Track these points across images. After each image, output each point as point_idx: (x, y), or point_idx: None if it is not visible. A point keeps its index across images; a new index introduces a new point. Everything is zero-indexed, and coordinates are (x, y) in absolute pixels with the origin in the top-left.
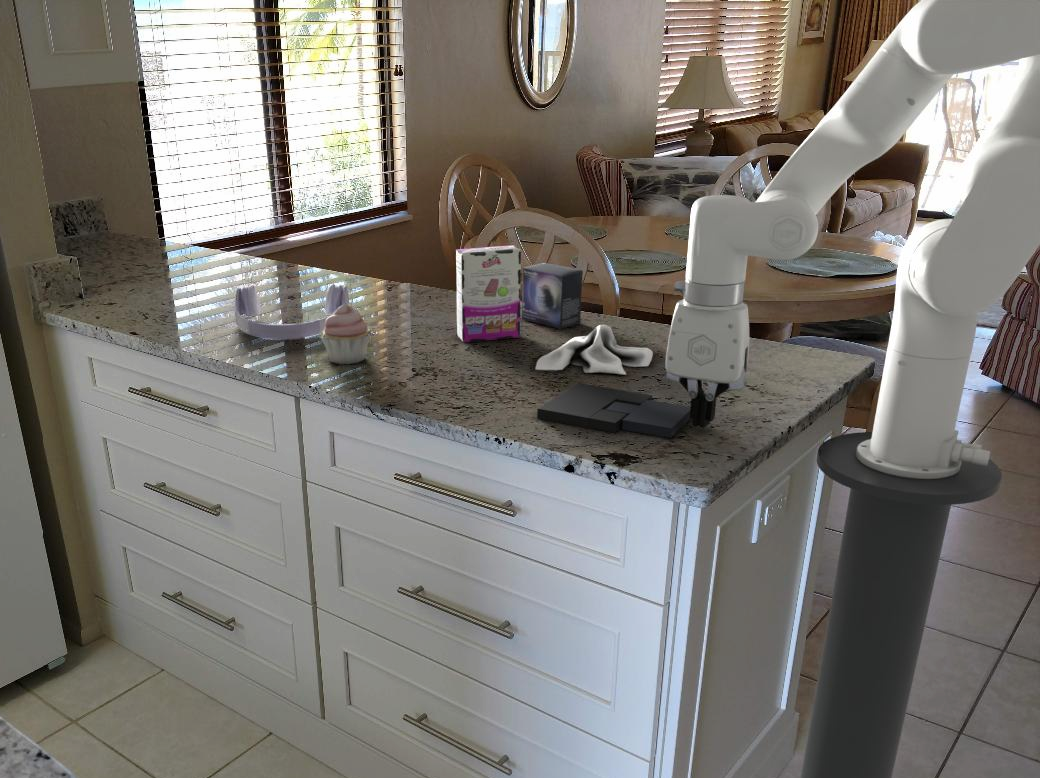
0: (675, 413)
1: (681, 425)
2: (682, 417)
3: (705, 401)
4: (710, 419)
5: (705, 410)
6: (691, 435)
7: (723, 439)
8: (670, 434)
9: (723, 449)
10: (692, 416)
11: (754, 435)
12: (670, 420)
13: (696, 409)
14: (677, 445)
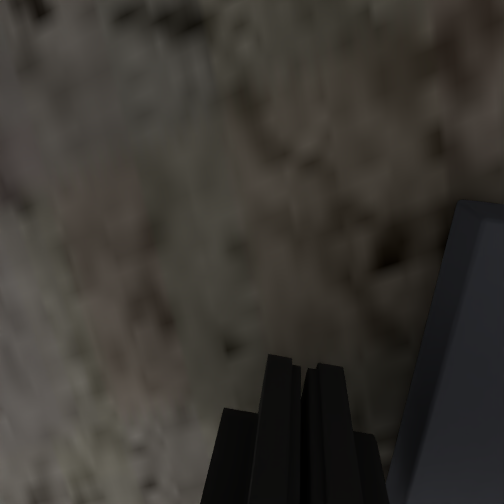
0: (475, 500)
1: (411, 400)
2: (421, 448)
3: (252, 501)
4: (226, 409)
5: (256, 443)
6: (332, 301)
7: (148, 298)
8: (470, 203)
9: (105, 133)
10: (354, 432)
11: (24, 401)
12: (502, 371)
13: (330, 444)
14: (396, 87)
